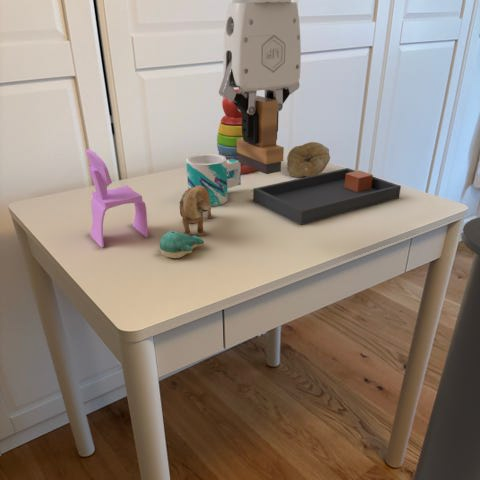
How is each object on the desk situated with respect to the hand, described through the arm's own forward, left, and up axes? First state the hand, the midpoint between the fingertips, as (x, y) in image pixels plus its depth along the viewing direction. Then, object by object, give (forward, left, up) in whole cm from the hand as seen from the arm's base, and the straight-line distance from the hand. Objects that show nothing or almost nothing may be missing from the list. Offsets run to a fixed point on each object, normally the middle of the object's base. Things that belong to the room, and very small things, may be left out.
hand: (259, 139), depth 72 cm
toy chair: (+18, +17, -17) cm, 30 cm away
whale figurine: (+6, +11, -17) cm, 22 cm away
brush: (0, 0, -4) cm, 4 cm away
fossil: (+28, -33, -17) cm, 46 cm away
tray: (+12, -25, -17) cm, 32 cm away
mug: (+26, -7, -17) cm, 32 cm away
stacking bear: (+41, -22, -17) cm, 49 cm away
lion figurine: (+13, +4, -17) cm, 22 cm away
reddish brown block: (+12, -34, -17) cm, 40 cm away
